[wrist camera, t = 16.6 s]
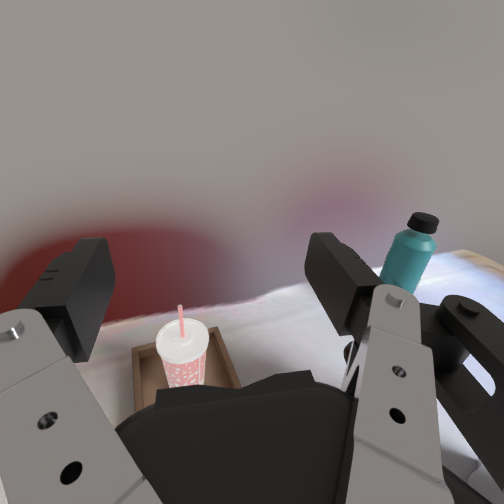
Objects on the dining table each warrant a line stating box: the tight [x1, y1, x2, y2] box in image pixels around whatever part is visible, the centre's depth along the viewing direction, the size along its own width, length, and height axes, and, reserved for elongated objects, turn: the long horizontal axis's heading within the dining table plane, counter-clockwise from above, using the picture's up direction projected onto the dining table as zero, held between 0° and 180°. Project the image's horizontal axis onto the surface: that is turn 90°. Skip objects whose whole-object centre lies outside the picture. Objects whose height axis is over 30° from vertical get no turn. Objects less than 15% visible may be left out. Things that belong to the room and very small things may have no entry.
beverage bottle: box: [379, 212, 439, 294], centre depth 48 cm, size 6×7×20 cm
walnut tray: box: [132, 326, 241, 413], centre depth 37 cm, size 13×13×3 cm
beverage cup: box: [156, 305, 209, 388], centre depth 33 cm, size 6×6×14 cm
